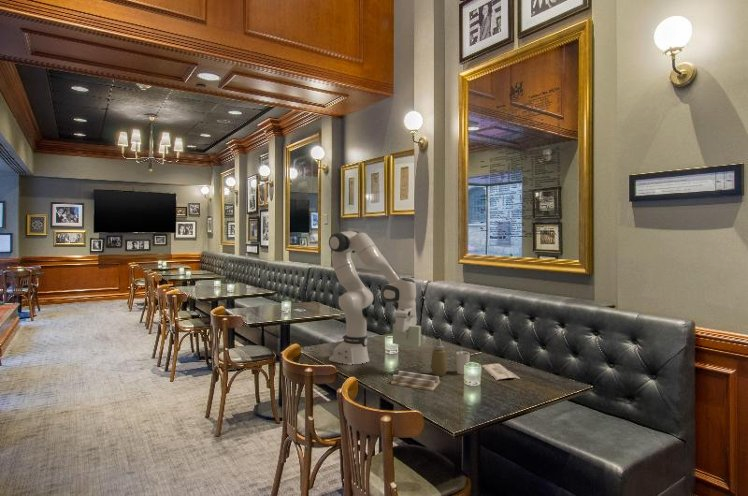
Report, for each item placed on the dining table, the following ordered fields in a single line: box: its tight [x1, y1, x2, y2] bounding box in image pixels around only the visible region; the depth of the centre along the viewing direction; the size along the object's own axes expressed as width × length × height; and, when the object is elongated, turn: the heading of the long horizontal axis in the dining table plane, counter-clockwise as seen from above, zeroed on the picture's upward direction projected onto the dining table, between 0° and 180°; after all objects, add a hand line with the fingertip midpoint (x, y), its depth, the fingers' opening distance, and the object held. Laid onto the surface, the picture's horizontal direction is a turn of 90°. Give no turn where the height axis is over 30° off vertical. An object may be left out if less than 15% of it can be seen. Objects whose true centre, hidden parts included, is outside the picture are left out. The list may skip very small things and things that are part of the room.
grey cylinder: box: [455, 351, 471, 376], centre depth 223 cm, size 7×7×10 cm
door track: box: [390, 370, 441, 392], centre depth 207 cm, size 20×12×4 cm, turn 65°
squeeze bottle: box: [430, 338, 448, 377], centre depth 220 cm, size 8×8×18 cm
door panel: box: [392, 322, 422, 348], centre depth 223 cm, size 14×3×10 cm, turn 65°
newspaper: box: [481, 363, 520, 381], centre depth 223 cm, size 23×12×2 cm, turn 5°
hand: (406, 337), depth 224 cm, fingers closed on door panel, 3 cm apart
